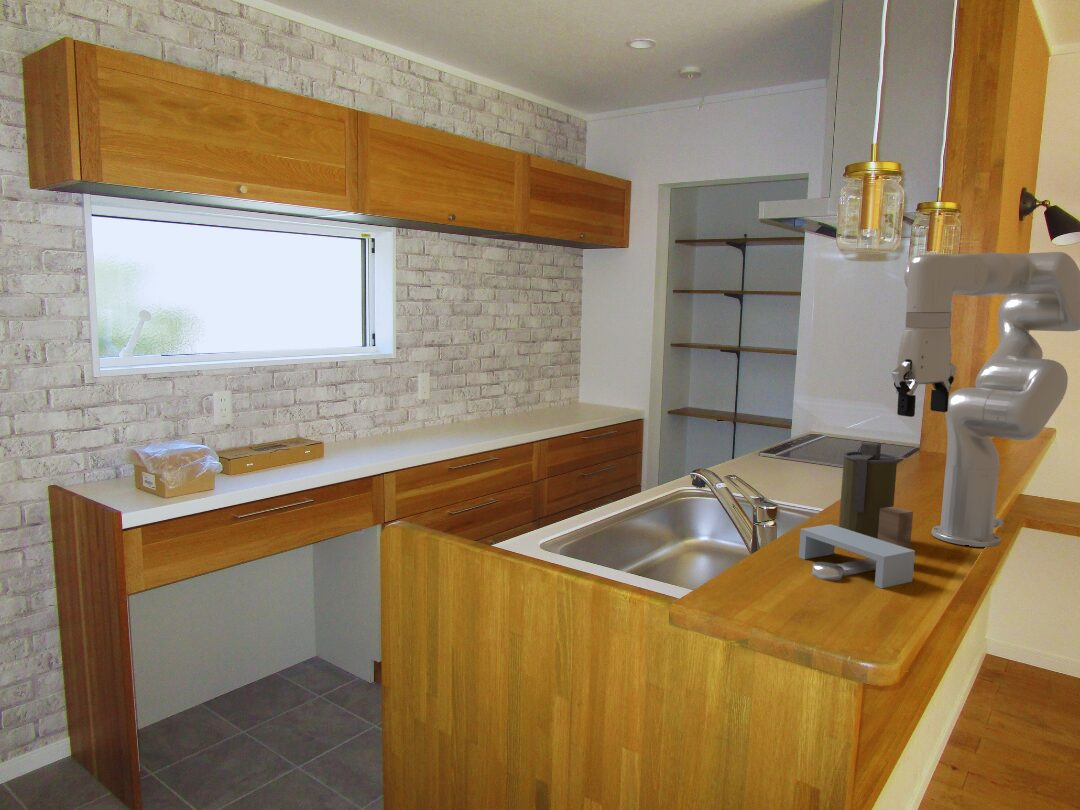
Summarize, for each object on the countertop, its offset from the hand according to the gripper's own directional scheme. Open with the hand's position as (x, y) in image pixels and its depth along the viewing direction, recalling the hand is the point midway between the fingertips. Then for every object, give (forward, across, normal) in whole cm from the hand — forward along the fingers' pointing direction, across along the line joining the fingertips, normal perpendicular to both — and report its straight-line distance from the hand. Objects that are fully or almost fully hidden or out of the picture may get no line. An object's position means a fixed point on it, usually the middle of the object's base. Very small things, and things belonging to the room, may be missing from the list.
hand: (922, 413), depth 142 cm
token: (+27, +26, +1) cm, 37 cm away
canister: (+28, 0, -11) cm, 30 cm away
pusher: (+27, +15, +1) cm, 31 cm away
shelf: (+27, +18, +1) cm, 32 cm away
